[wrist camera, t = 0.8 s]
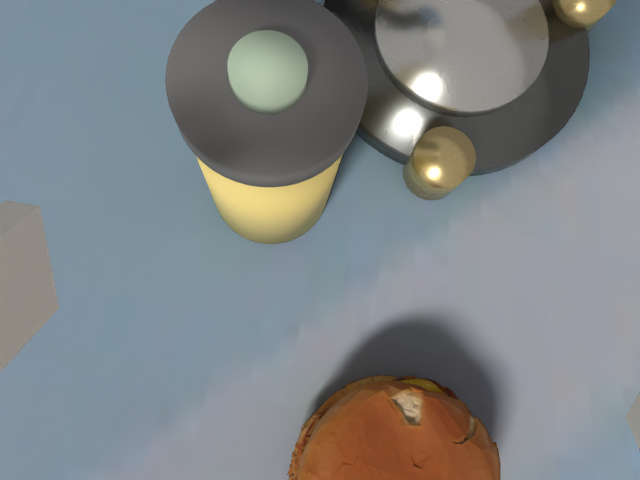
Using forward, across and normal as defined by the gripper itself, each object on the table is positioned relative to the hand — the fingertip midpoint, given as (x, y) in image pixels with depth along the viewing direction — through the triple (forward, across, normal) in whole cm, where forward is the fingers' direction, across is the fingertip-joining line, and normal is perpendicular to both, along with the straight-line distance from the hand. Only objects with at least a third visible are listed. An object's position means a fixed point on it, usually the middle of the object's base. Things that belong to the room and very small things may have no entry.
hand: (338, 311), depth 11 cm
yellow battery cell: (+18, -5, -6) cm, 20 cm away
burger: (+10, +3, -17) cm, 20 cm away
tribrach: (+26, +4, 0) cm, 26 cm away
